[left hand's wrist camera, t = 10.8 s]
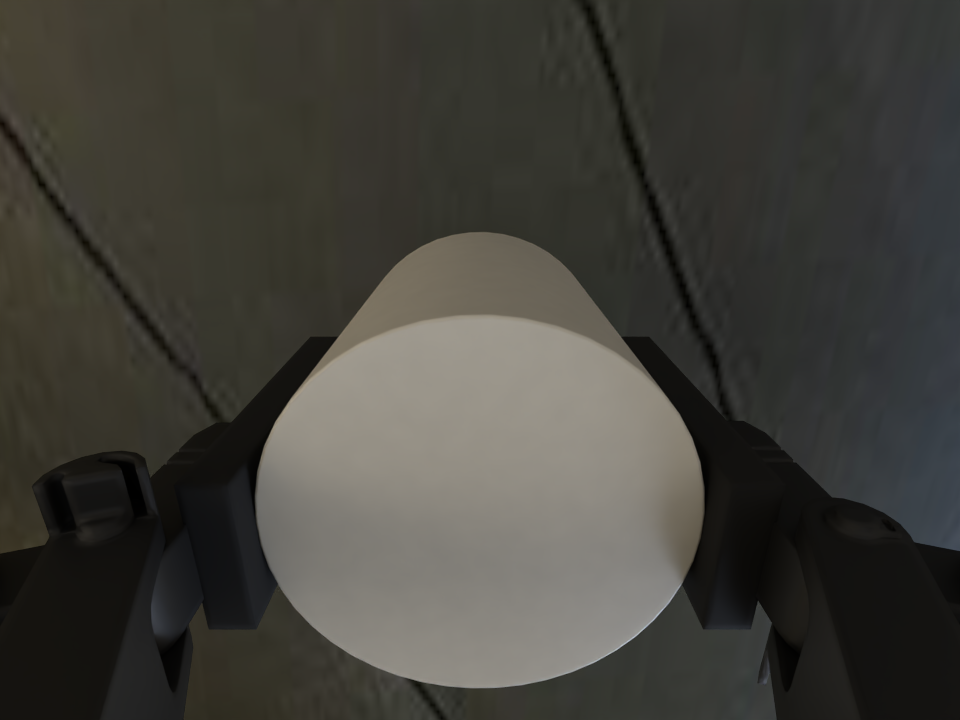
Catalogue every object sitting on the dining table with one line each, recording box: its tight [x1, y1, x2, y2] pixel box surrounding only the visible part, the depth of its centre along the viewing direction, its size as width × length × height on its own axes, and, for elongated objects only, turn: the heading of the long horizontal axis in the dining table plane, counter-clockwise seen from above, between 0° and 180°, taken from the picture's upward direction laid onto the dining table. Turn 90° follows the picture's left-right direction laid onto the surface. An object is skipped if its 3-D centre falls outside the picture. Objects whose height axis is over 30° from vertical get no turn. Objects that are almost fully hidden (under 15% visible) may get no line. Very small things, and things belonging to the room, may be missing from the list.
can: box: [255, 232, 705, 688], centre depth 12 cm, size 7×7×8 cm
